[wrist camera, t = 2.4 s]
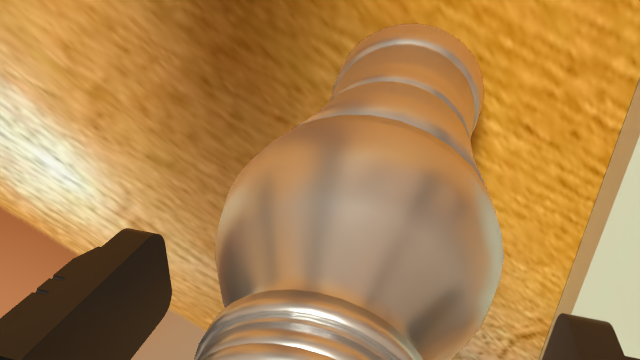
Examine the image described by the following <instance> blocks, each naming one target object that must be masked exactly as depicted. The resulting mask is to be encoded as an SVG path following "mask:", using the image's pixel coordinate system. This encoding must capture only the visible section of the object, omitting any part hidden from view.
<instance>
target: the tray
mask: <svg viewBox="0 0 640 360" xmlns="http://www.w3.org/2000/svg"><path fill="white" fill-rule="evenodd" d="M561 313H565V314H570V315H575V316H581V317H586V318H591V319H596V320H601V321H606V322H609V323H610V324H611V325H612V327H613V329H614V331H615V333H616V336H617V338H618V341H619V343H620V345H621V348H622V350H623V353H624V355H625V356H628V357H633V358H638V359H640V80H639V82H638V85H637V88H636V91H635V94H634V96H633V99H632V102H631V105H630V107H629V110H628V113H627V116H626V119H625V121H624V124H623V127H622V130H621V133H620V135H619V138H618V141H617V144H616V146H615V149H614V152H613V155H612V158H611V160H610V163H609V166H608V169H607V171H606V174H605V177H604V180H603V183H602V185H601V188H600V191H599V194H598V196H597V199H596V202H595V205H594V208H593V210H592V213H591V216H590V219H589V222H588V224H587V227H586V230H585V233H584V235H583V238H582V241H581V244H580V247H579V249H578V252H577V255H576V258H575V260H574V263H573V266H572V269H571V272H570V274H569V277H568V280H567V283H566V285H565V288H564V291H563V294H562V297H561V299H560V302H559V305H558V308H557V311H556V313H555V316H554V319H553V322H552V324H551V327H550V330H549V333H548V336H547V338H546V341H545V344H544V347H543V349H542V352H541V355H540V358H539V360H542V358H543V355H544V352H545V349H546V347H547V344H548V341H549V338H550V336H551V333H552V330H553V327H554V324H555V322H556V319H557V318H558V316H559V315H560V314H561Z"/></svg>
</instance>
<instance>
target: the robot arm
mask: <svg viewBox="0 0 640 360" xmlns="http://www.w3.org/2000/svg"><path fill="white" fill-rule="evenodd" d="M171 296H172V287H171V280H170V274H169V267H168V260H167V254H166V247H165V242H164V239H163V237H162V236H161V235H159V234H155V233H150V232H145V231H140V230H134V229H129V228H127V229H123V230H121V231H120V232H119V233H118V234H116V235H115V236H114V237H113V238H112V239H110V240H109V241H108V242H107V243H106V244H105V245H103V246H102V247H97V248H94V249H92V250H90V251H88V252H86V253H84V254H82V255H80V256H78V257H76V258H74V259H72V260H71V261H70V262H69V263H68V264H66V265H65V266H64V267H63V268H61V269H60V270H59V271H58V272H57V273H55V274H54V276H53V278H52V279H48V280H47V281H46V282H45V283H43V284H42V285H41V286H40V287H38V288H37V291H36V293H31V294H30V295H29V296H27V297H26V298H25V299H24V300H22V301H21V302H20V303H19V304H18V305H16V306H15V307H14V308H13V309H11V310H10V311H9V312H8V313H7V314H5V315H4V316H3V317H2V318H1V319H0V360H131V358H132V357H133V356H134V354H135V353H136V352H137V351H138V349H139V348H140V347H141V345H142V344H143V343H144V342H145V340H146V339H147V338H148V337H149V335H150V334H151V333H152V331H153V330H154V329H155V328H156V326H157V325H158V324H159V323H160V321H161V320H162V319H163V317H164V316H165V314H166V312H167V310H168V308H169V305H170V302H171ZM542 360H640V359H638V358H633V357H628V356H625V355H624V353H623V350H622V348H621V345H620V343H619V341H618V338H617V336H616V333H615V331H614V329H613V327H612V325H611V324H610V323H609V322H606V321H601V320H596V319H591V318H586V317H581V316H575V315H570V314H565V313H561V314H560V315H559V316H558V318H557V319H556V322H555V324H554V327H553V330H552V333H551V336H550V338H549V341H548V344H547V347H546V349H545V352H544V355H543V358H542Z"/></svg>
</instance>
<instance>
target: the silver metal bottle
mask: <svg viewBox="0 0 640 360" xmlns="http://www.w3.org/2000/svg"><path fill="white" fill-rule="evenodd" d="M483 97H484V85H483V76H482V74H481V71H480V68H479V65H478V63H477V61H476V59H475V58H474V56H473V55H472V53H471V51H470V50H469V49H468V48H467V47H466V46H465V45H464V44H463V43H462V42H461V41H460V40H459V39H457V38H456V37H454V36H452V35H451V34H449V33H448V32H446V31H444V30H441V29H439V28H436V27H433V26H429V25H423V24H399V25H395V26H391V27H387V28H384V29H382V30H379V31H377V32H375V33H373V34H371V35H369V36H368V37H367V38H365V39H364V40H362V41H361V42H359V43H358V45H357V46H356V47H355V48H354V49H353V50H352V51H351V52H350V53H349V54H348V56H347V57H346V59H345V61H344V62H343V64H342V65H341V68H340V71H339V73H338V76H337V78H336V81H335V84H334V86H333V92H332V96H331V98H330V100H329V102H328V103H327V104H326V105H325V106H324V107H323V108H322V109H321V110H320V111H319V112H318V113H316V114H315V115H313V116H312V117H310V118H309V119H307V120H305V121H304V122H302V123H301V124H299V125H298V126H296V127H295V128H293V129H291V130H289V131H288V132H286V133H285V134H283V135H282V136H280V137H278V138H277V139H275V140H274V141H272V142H271V143H270V144H269V145H268V146H267V147H265V148H264V149H263V150H262V151H261V152H259V153H258V154H257V155H256V156H255V157H254V158H253V159H252V160H251V161H250V162H249V163H248V164H247V165H246V166H245V167H244V168H243V169H242V170H241V171H240V173H239V174H238V176H237V178H236V180H235V181H234V183H233V185H232V186H231V188H230V190H229V192H228V195H227V199H226V202H225V205H224V209H223V212H222V215H221V219H220V222H219V226H218V229H217V232H216V239H215V259H216V265H217V272H218V278H219V284H220V289H221V295H222V300H223V304H224V307H225V309H224V310H222V311H221V312H220V313H219V314H218V315H217V317H216V318H215V320H214V321H213V322H212V324H211V325H210V327H209V328H208V330H207V332H206V333H205V335H204V337H203V339H202V340H201V342H200V343H199V346H198V349H197V352H196V355H195V358H194V360H451V359H452V358H453V357H454V356H455V355H456V354H457V353H458V352H459V351H460V350H461V349H462V348H463V347H464V346H465V345H466V344H467V343H468V342H469V340H470V339H471V338H472V337H473V336H474V334H475V333H476V332H477V331H478V329H479V328H480V327H481V325H482V323H483V321H484V318H485V316H486V314H487V312H488V310H489V307H490V305H491V302H492V300H493V297H494V295H495V292H496V290H497V287H498V285H499V282H500V278H501V272H502V266H503V259H504V254H503V245H502V236H501V230H500V227H499V223H498V219H497V215H496V211H495V208H494V206H493V203H492V200H491V198H490V195H489V192H488V190H487V188H486V186H485V184H484V181H483V179H482V177H481V174H480V172H479V170H478V168H477V165H476V163H475V161H474V158H473V153H472V147H471V142H470V140H471V135H472V132H473V131H474V129H475V127H476V124H477V121H478V118H479V115H480V112H481V109H482V105H483Z"/></svg>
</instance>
